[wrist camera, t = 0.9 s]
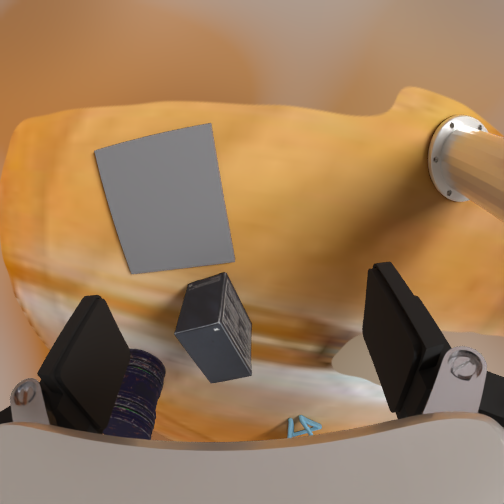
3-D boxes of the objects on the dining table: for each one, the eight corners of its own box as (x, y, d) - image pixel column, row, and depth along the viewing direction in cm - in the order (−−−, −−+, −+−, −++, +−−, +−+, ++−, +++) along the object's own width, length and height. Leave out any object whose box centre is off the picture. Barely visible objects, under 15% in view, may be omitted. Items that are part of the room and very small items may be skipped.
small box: (184, 283, 44) (170, 333, 34) (226, 270, 42) (221, 320, 33) (215, 334, 48) (209, 385, 39) (253, 324, 47) (254, 376, 38)
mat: (211, 123, 33) (210, 123, 32) (235, 258, 42) (234, 261, 41) (97, 149, 34) (94, 151, 33) (133, 271, 42) (131, 274, 42)
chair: (310, 411, 60) (318, 457, 50) (321, 425, 64) (328, 467, 53) (278, 420, 62) (282, 466, 51) (291, 434, 65) (296, 476, 55)
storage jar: (111, 344, 50) (85, 410, 37) (162, 351, 50) (144, 423, 37) (122, 378, 55) (103, 439, 41) (168, 385, 55) (155, 450, 42)
